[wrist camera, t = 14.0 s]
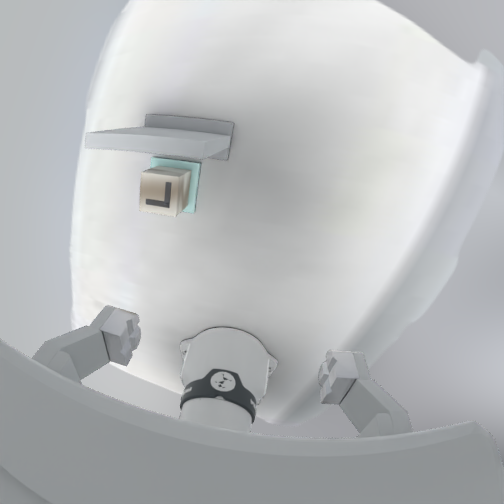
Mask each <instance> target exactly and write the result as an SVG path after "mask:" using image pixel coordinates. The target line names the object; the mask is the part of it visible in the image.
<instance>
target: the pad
mask: <svg viewBox="0 0 504 504" xmlns="http://www.w3.org/2000/svg"><path fill="white" fill-rule="evenodd" d="M200 165H201V163H196V162H189V161H182V160H174V159H166V158H157V157H152V158H151V167H150V168H153V167H155V166H164V167H173V168H180V169H188V170H192V171H191V179H190V188H189V198H188V206H187V207H186V208H185V209H184V210H183V212H188V213H194V212H195V204H196V196H197V188H198V180H199V172H200Z"/></svg>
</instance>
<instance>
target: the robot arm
mask: <svg viewBox="0 0 504 504" xmlns="http://www.w3.org/2000/svg"><path fill="white" fill-rule="evenodd" d="M138 323H139V315H138V314H136V313H133V312H129V311H126V310H123V309H120V308H116V307H113V306H110V305H107V306H105V307H104V308H103V310H102V311H101V312H100V313H99V315H98V316H97V317H96V318H95V319H94V321H93V322H92V323H91V324H90V326H84V327H81V328H79V329H76V330H74V331H71V332H69V333H66V334H64V335H61V336H58V337H56V338H53V339H51V340H48V341H46V342H45V343H44V344H43V345H42V346H41V347H40V349H39V350H38V351H37V352H36V354H35V355H34V356H33V357H32V358H30V357H28V356H27V355H25V354H23V353H22V352H20V351H18V350H17V349H15V348H14V347H12V346H10V345H9V344H7V343H6V342H4V341H3V340H2V339H0V504H504V468H503V464H502V460H501V456H500V453H499V449H498V446H497V443H496V441H495V439H494V437H493V435H491V433H490V432H488V431H487V430H486V429H485V428H484V427H482V426H481V425H480V424H479V423H477V422H476V421H473V420H470V421H465V422H462V423H457V424H454V425H449V426H444V427H440V428H435V429H429V430H424V431H417V432H413V429H412V425H411V422H410V419H409V415H408V412H407V410H406V409H404V408H403V407H402V406H401V405H400V404H399V403H398V402H397V401H396V400H395V399H394V398H393V397H392V396H391V395H390V394H389V393H388V392H386V391H385V390H384V389H383V388H382V387H381V386H380V385H379V384H378V383H377V382H376V381H375V380H371V378H370V374H369V371H368V367H367V364H366V361H365V358H364V354H363V353H362V352H352V351H351V352H350V351H338V350H329V351H328V352H327V354H326V361H325V362H323V363H322V365H321V367H320V371H319V384H320V385H321V386H322V388H321V390H320V398H321V403H324V404H339V406H340V407H341V408H342V410H343V411H344V413H345V414H346V415H347V417H348V418H349V420H350V421H351V422H352V424H353V425H354V426H355V428H356V429H357V430H358V432H359V433H360V434H359V435H358V436H357V437H356V438H305V437H288V436H287V437H286V436H275V435H265V434H257V433H251V424H252V423H253V422H254V419H255V416H256V405H259V403H260V401H261V398H263V397H264V395H265V393H266V389H267V380H268V378H269V377H270V375H271V374H272V373H273V372H274V370H275V369H276V367H277V364H278V361H277V360H276V359H275V358H274V357H273V356H271V355H270V354H268V353H267V351H266V349H265V348H264V346H263V345H262V343H261V342H260V341H259V340H258V339H256V338H255V337H254V336H252V335H250V334H248V333H246V332H244V331H241V330H238V329H233V328H225V327H220V328H212V329H208V330H205V331H203V332H201V333H200V334H198V335H197V336H196V337H194V338H192V339H188V340H184V341H182V342H181V343H180V351H181V355H182V358H183V366H182V369H181V373H180V378H181V379H182V383H183V385H184V387H185V389H184V392H183V394H182V397H181V404H180V408H181V413H180V416H179V419H178V418H175V417H171V416H167V415H164V414H160V413H157V412H154V411H150V410H147V409H144V408H141V407H138V406H135V405H132V404H129V403H126V402H124V401H121V400H118V399H115V398H113V397H110V396H108V395H105V394H103V393H100V392H98V391H95V390H93V389H91V388H89V387H86V386H84V385H82V382H81V379H83V378H85V377H86V376H88V375H89V374H91V373H93V372H94V371H96V370H98V369H99V368H101V367H102V366H104V365H106V364H107V363H109V362H110V361H112V362H115V363H118V364H121V365H124V366H127V365H128V363H129V361H130V359H131V358H132V356H133V355H132V351H133V350H135V349H137V347H138V345H139V342H140V338H141V329H140V328H139V326H138V325H137V324H138Z"/></svg>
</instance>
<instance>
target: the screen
mask: <svg viewBox="0 0 504 504" xmlns="http://www.w3.org/2000/svg"><path fill="white" fill-rule="evenodd" d="M233 126H234V123H232V122H225V121H217V120H209V119H201V118H191V117H180V116H167V115H149V114H146V119H145V127H135V128H123V129H114V130H105V131H97V132H90V133H86V138H85V148H87V149H107V150H121V151H134V152H145V153H155V154H164V155H172V156H180V157H188V158H195V159H202V160H203V159H205V158H214V159H220V160H226V161H227V160H228V155H229V149H230V143H231V137H232V132H233Z"/></svg>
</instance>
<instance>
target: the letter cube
mask: <svg viewBox="0 0 504 504" xmlns="http://www.w3.org/2000/svg"><path fill="white" fill-rule="evenodd" d="M191 171H192V170H188V169H180V168H173V167H164V166H155V167H153V168H150V169H148V170H145V171H143V172H141V185H140V209H139V211H143V212H149V213H155V214H160V215H166V216H172V217H176V216H178V215H179V214H180V213H181V212H182V211H183V210H184V209H185V208H186V207H187V206H188V198H189V188H190V179H191Z"/></svg>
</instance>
